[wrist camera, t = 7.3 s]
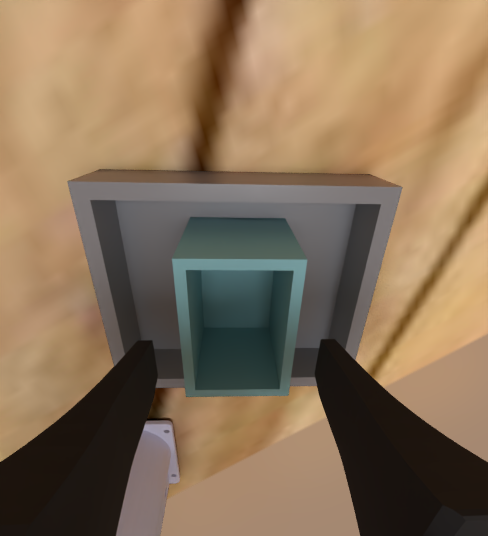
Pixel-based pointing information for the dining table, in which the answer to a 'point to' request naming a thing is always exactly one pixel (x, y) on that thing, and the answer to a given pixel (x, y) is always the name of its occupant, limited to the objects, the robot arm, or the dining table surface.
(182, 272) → the teal crate
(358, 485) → the robot arm
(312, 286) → the gray tray
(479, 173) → the dining table surface
